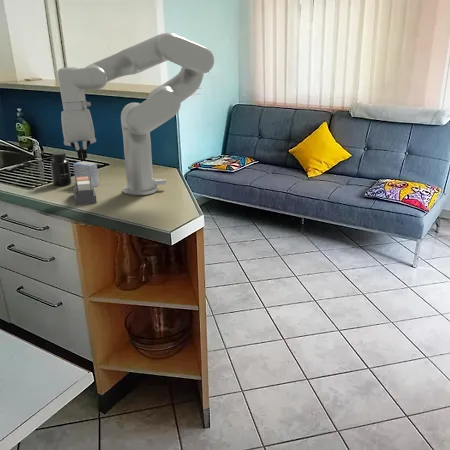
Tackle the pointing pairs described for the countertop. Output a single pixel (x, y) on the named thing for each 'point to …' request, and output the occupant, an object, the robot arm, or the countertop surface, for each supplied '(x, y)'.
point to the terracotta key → (82, 178)
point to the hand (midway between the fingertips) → (83, 160)
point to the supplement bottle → (60, 169)
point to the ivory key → (83, 185)
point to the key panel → (84, 195)
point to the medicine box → (87, 172)
